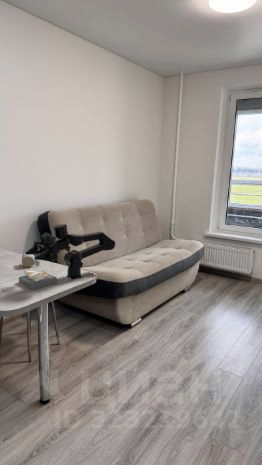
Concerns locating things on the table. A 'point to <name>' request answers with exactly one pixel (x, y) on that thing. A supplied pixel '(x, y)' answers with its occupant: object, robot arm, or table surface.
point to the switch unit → (41, 283)
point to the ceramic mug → (29, 260)
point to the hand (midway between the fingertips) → (30, 256)
